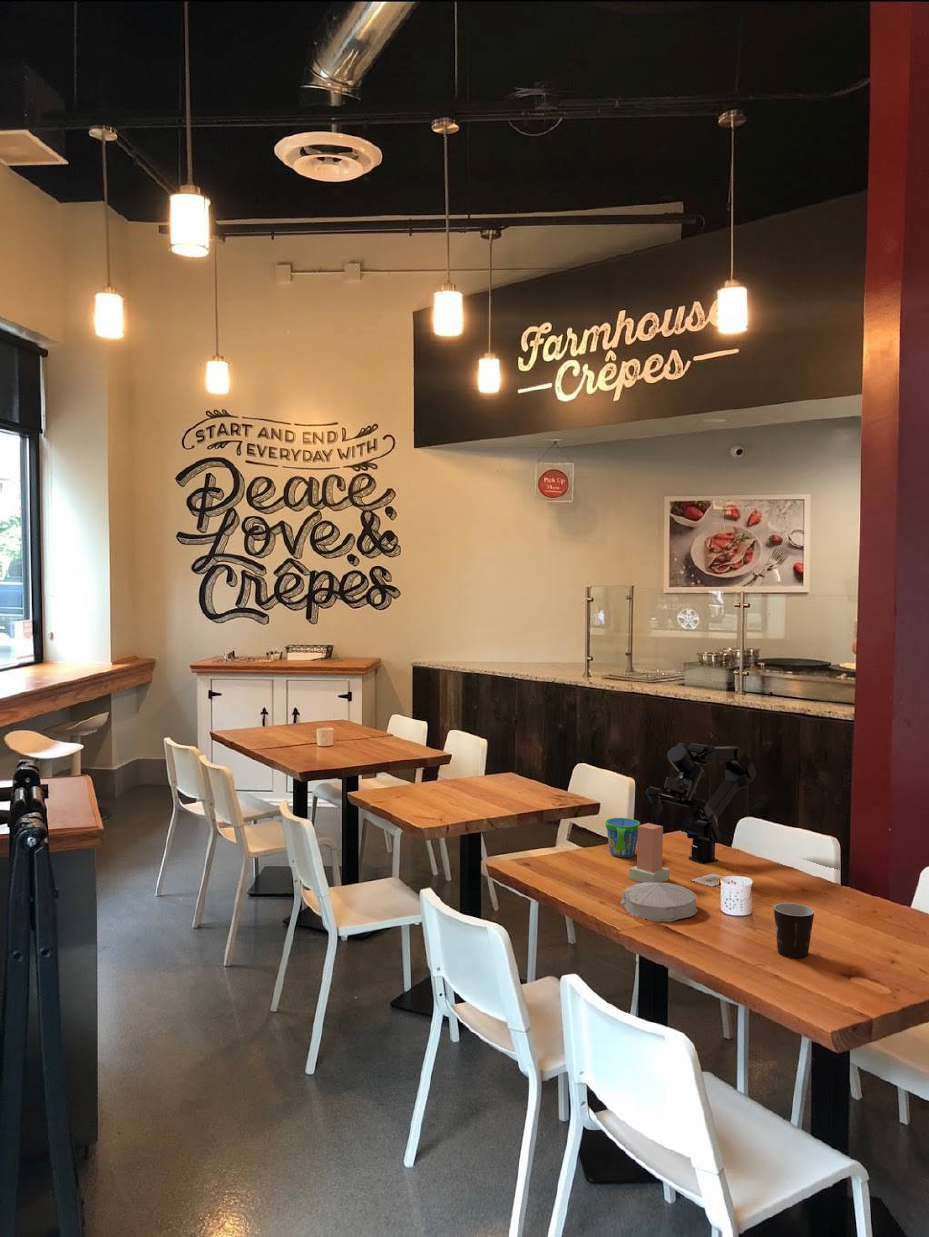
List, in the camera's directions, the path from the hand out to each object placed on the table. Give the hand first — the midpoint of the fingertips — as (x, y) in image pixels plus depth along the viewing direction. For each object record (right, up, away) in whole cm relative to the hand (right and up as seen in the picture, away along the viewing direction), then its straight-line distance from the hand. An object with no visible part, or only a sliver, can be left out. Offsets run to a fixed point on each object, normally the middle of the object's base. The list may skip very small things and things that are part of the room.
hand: (666, 826), depth 275 cm
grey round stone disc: (-8, -15, -29) cm, 34 cm away
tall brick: (-6, -11, -5) cm, 13 cm away
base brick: (-6, -14, -5) cm, 16 cm away
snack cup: (-10, -13, +19) cm, 25 cm away
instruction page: (+12, -14, -6) cm, 19 cm away
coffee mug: (+15, -16, -60) cm, 64 cm away
